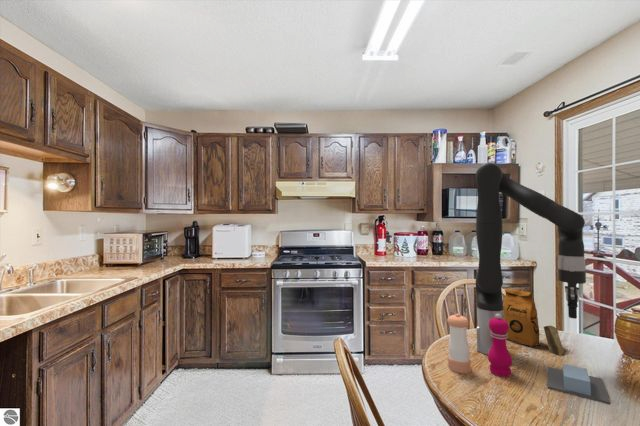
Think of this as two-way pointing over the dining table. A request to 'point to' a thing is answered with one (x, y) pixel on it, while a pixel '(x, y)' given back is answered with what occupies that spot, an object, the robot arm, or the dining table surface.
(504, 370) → the pepper mill
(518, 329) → the coffee package
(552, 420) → the dining table surface
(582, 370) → the block
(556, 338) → the rock
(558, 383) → the mat
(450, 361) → the pepper shaker
